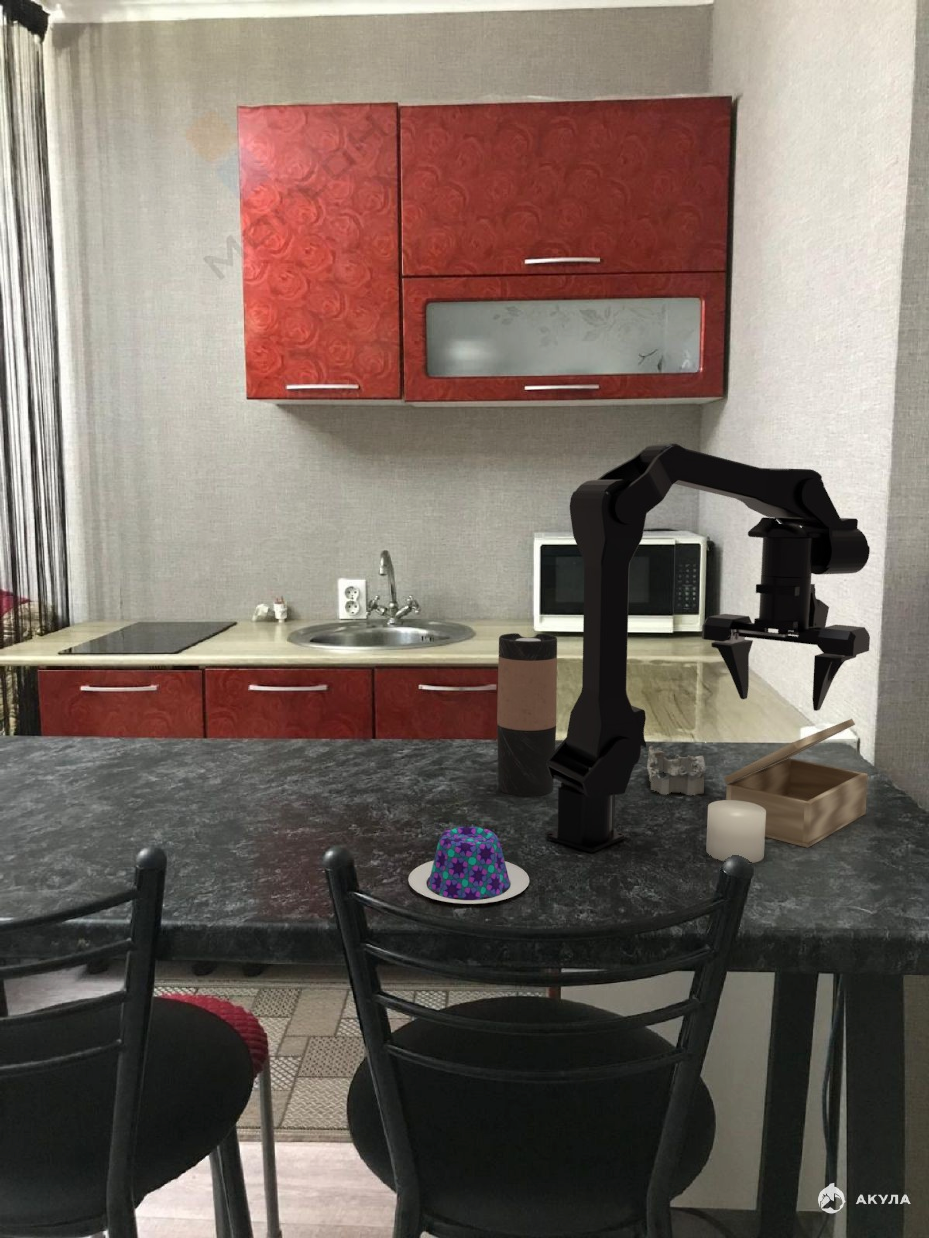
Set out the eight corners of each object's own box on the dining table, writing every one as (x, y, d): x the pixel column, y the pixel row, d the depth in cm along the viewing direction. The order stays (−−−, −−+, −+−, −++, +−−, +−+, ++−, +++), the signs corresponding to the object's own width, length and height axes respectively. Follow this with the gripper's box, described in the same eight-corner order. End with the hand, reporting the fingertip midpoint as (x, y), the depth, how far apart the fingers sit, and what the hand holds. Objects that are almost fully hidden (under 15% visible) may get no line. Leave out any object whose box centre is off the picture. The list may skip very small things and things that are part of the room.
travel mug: (525, 801, 124) (527, 643, 121) (484, 787, 130) (485, 636, 127) (567, 789, 129) (570, 637, 126) (525, 776, 135) (528, 630, 132)
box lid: (796, 748, 108) (793, 742, 108) (726, 784, 115) (723, 777, 115) (855, 724, 120) (851, 718, 120) (788, 757, 126) (785, 751, 126)
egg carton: (646, 772, 138) (647, 744, 137) (702, 776, 137) (703, 747, 136) (646, 795, 128) (647, 764, 127) (706, 798, 126) (707, 767, 126)
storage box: (807, 847, 108) (810, 803, 108) (725, 826, 115) (726, 784, 115) (865, 813, 120) (867, 773, 119) (787, 795, 127) (789, 758, 126)
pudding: (554, 892, 97) (555, 840, 96) (452, 922, 90) (452, 866, 89) (482, 854, 106) (483, 807, 106) (385, 879, 100) (385, 829, 99)
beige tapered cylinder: (747, 868, 103) (749, 822, 102) (695, 853, 107) (697, 808, 106) (773, 853, 107) (776, 808, 106) (723, 839, 111) (725, 796, 110)
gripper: (889, 576, 118) (881, 705, 120) (743, 567, 130) (737, 684, 132) (855, 582, 109) (847, 721, 111) (702, 572, 122) (697, 697, 124)
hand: (779, 704), depth 120 cm, fingers open, 9 cm apart
